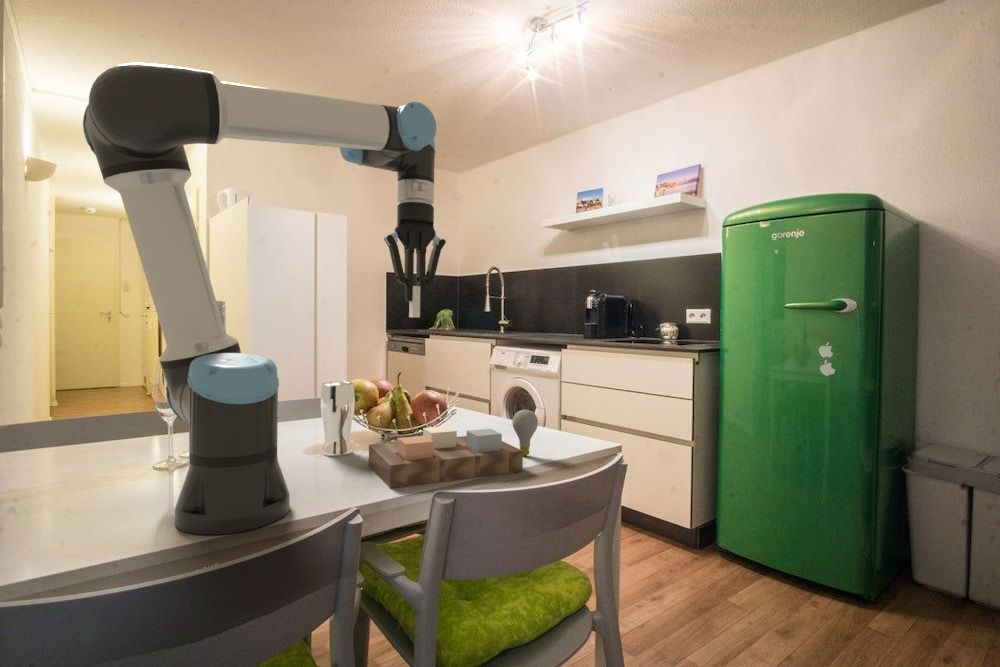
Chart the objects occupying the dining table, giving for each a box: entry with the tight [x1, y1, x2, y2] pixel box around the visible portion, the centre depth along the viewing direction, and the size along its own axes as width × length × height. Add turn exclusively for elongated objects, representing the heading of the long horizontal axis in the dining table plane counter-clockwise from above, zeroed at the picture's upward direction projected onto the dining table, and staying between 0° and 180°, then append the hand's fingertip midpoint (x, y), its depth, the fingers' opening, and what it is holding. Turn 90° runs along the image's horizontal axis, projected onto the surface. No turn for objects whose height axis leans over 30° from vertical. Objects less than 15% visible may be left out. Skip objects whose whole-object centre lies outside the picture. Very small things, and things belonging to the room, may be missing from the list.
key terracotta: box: [397, 435, 433, 461], centre depth 100 cm, size 5×5×5 cm
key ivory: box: [422, 425, 458, 449], centre depth 109 cm, size 5×5×5 cm
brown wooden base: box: [368, 435, 524, 489], centre depth 106 cm, size 26×16×4 cm, turn 116°
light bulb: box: [511, 409, 539, 457], centre depth 116 cm, size 6×5×10 cm
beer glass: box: [320, 381, 356, 457], centre depth 116 cm, size 7×7×15 cm
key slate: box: [466, 428, 503, 453], centre depth 106 cm, size 5×5×5 cm
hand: (414, 317), depth 114 cm, fingers closed
